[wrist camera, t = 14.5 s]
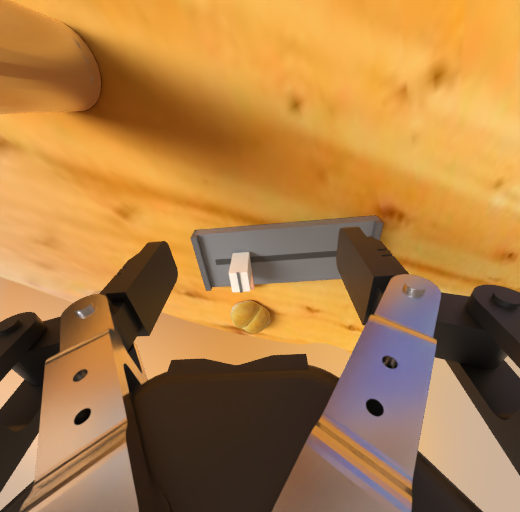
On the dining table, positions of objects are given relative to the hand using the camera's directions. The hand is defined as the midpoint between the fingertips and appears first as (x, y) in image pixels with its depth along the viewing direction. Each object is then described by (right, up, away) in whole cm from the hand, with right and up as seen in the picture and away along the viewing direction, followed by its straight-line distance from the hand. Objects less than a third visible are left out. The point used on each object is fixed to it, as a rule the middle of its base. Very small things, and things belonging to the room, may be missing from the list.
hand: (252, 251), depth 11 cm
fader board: (+5, +1, +33) cm, 34 cm away
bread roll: (-2, -13, +43) cm, 45 cm away
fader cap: (-3, -1, +32) cm, 32 cm away
